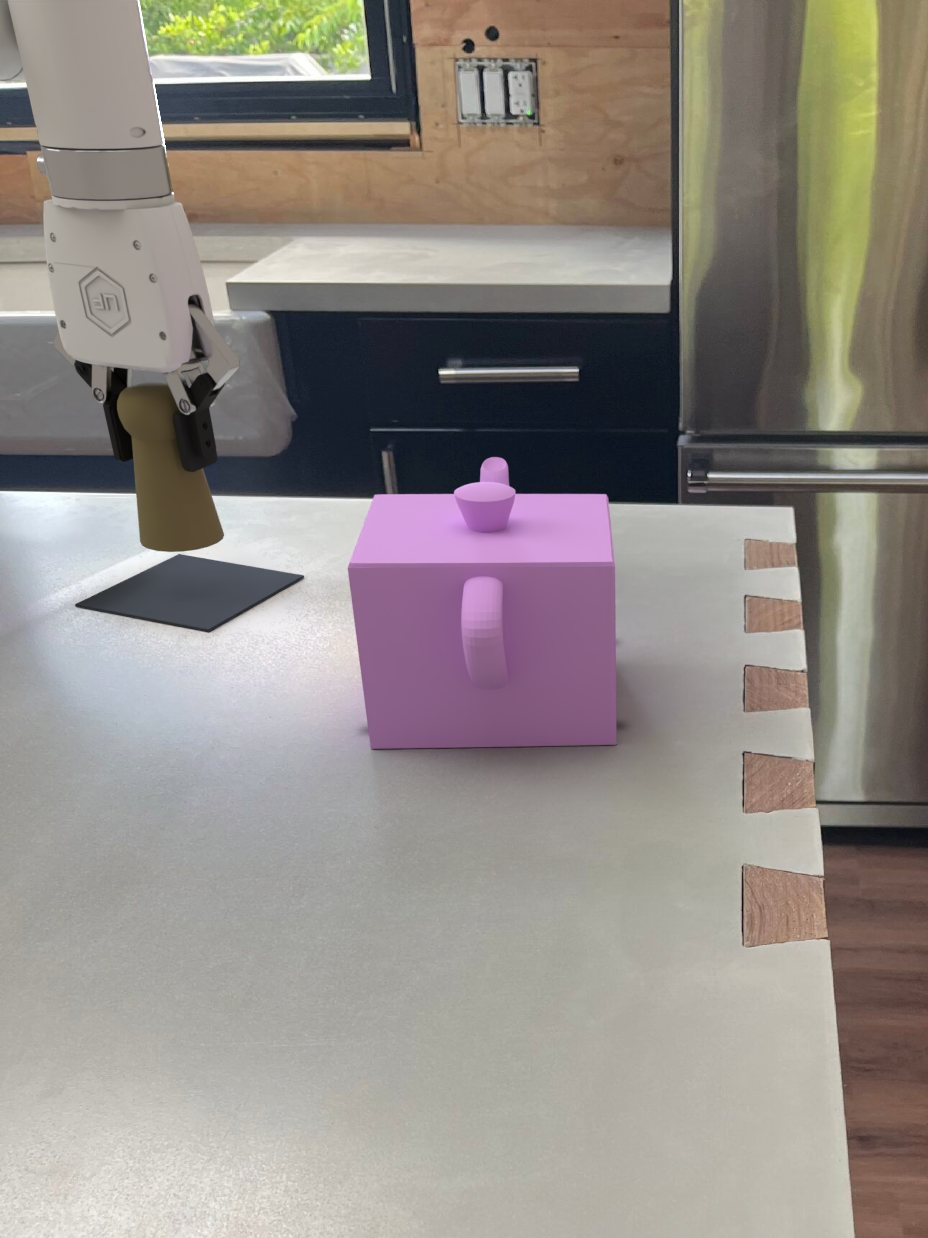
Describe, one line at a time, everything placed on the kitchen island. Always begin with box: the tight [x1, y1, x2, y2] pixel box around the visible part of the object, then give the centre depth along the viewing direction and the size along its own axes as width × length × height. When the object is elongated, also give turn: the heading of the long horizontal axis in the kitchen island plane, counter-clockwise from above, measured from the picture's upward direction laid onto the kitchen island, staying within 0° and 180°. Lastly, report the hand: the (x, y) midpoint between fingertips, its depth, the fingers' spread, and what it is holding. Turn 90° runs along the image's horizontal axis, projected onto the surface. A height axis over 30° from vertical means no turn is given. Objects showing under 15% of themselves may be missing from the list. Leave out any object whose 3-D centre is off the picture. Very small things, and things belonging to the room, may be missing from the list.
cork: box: [117, 381, 225, 553], centre depth 96 cm, size 6×6×11 cm
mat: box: [74, 553, 305, 633], centre depth 101 cm, size 12×12×1 cm
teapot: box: [347, 456, 618, 750], centre depth 84 cm, size 15×25×14 cm, turn 5°
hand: (166, 459), depth 96 cm, fingers closed on cork, 5 cm apart
